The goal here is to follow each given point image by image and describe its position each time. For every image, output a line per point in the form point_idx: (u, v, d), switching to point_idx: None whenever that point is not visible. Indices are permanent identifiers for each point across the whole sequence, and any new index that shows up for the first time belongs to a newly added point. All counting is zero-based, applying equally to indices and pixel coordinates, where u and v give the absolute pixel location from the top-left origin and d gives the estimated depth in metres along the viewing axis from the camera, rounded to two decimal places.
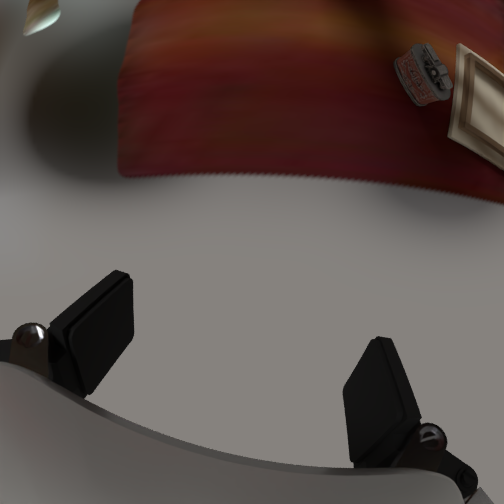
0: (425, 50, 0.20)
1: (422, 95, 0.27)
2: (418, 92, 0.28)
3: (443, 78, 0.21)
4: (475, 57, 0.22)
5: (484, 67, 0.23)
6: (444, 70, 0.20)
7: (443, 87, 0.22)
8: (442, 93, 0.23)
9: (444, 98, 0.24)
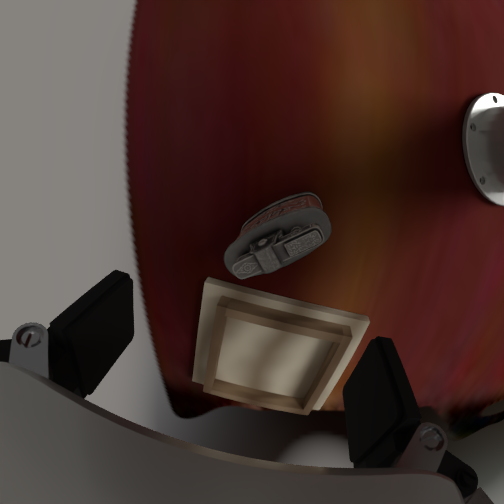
0: (306, 229, 0.16)
1: (245, 229, 0.23)
2: (251, 223, 0.23)
3: (250, 260, 0.17)
4: (345, 344, 0.26)
5: (332, 357, 0.27)
6: (266, 264, 0.17)
7: (237, 259, 0.18)
8: (235, 260, 0.20)
9: (227, 263, 0.20)
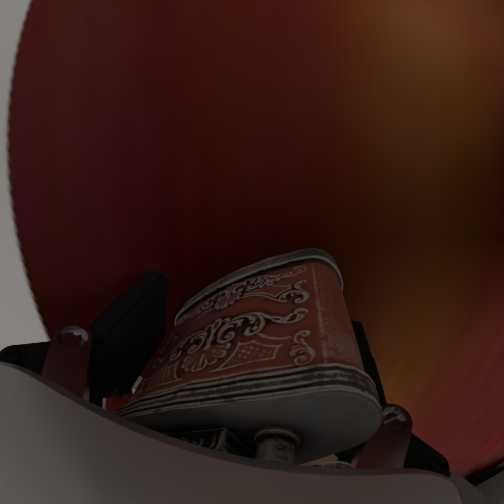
0: None
1: (168, 346, 0.10)
2: (182, 331, 0.10)
3: None
4: None
5: None
6: None
7: None
8: None
9: None
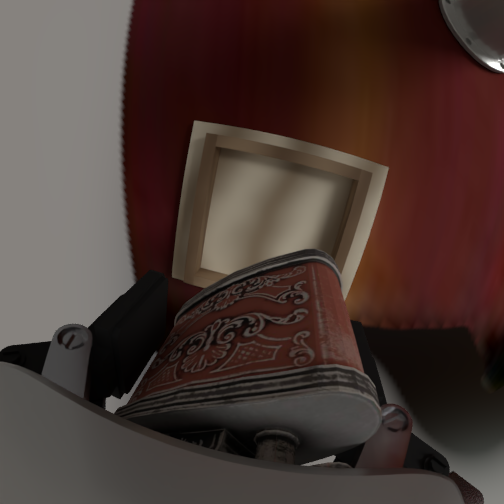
0: None
1: (167, 346, 0.10)
2: (181, 332, 0.10)
3: None
4: (365, 184, 0.21)
5: (351, 205, 0.22)
6: None
7: None
8: None
9: None
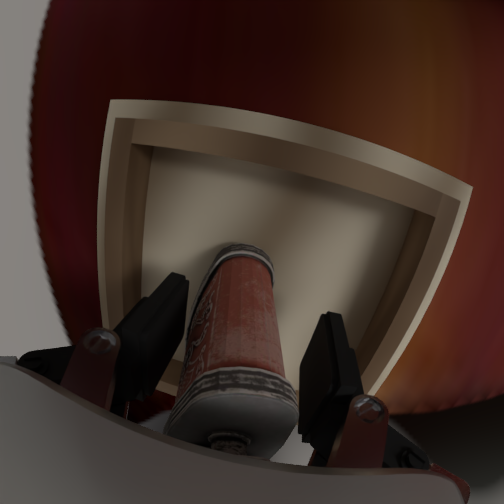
0: None
1: None
2: None
3: None
4: (446, 224, 0.09)
5: (415, 266, 0.10)
6: None
7: None
8: None
9: None
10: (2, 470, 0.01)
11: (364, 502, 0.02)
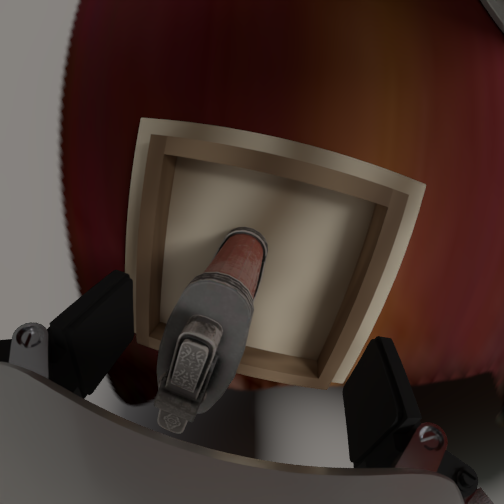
0: None
1: None
2: None
3: (166, 412, 0.09)
4: (397, 212, 0.13)
5: (374, 244, 0.14)
6: (178, 415, 0.09)
7: None
8: None
9: None
10: (2, 470, 0.01)
11: (364, 502, 0.02)
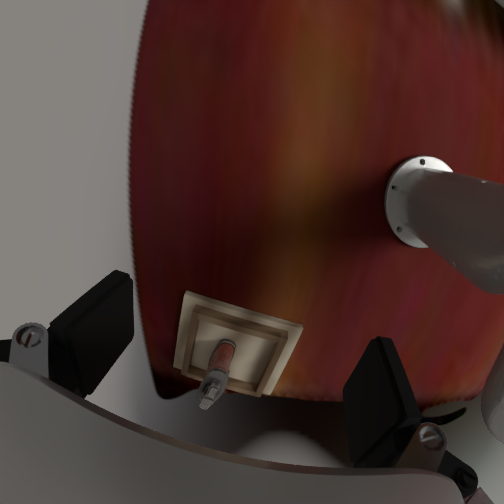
0: (210, 387, 0.33)
1: None
2: None
3: (203, 403, 0.34)
4: (282, 344, 0.38)
5: (274, 352, 0.39)
6: (207, 403, 0.34)
7: None
8: None
9: None
10: (2, 470, 0.01)
11: (364, 502, 0.02)
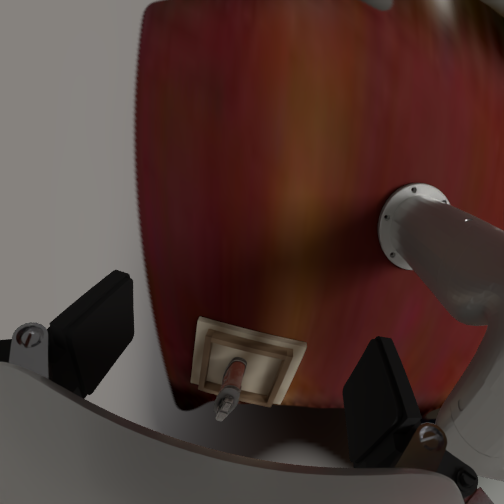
0: (224, 402, 0.37)
1: None
2: None
3: (218, 415, 0.38)
4: (288, 361, 0.41)
5: (281, 368, 0.42)
6: (222, 416, 0.37)
7: (216, 415, 0.39)
8: None
9: None
10: (2, 470, 0.01)
11: (364, 502, 0.02)
